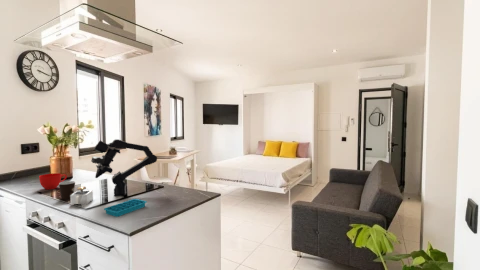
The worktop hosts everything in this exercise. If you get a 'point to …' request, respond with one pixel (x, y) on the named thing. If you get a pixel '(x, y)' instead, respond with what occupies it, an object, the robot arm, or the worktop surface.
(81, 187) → the plunger
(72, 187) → the coffee mug
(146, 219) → the worktop surface
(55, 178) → the ceramic cup
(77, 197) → the press body
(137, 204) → the ice cube tray
